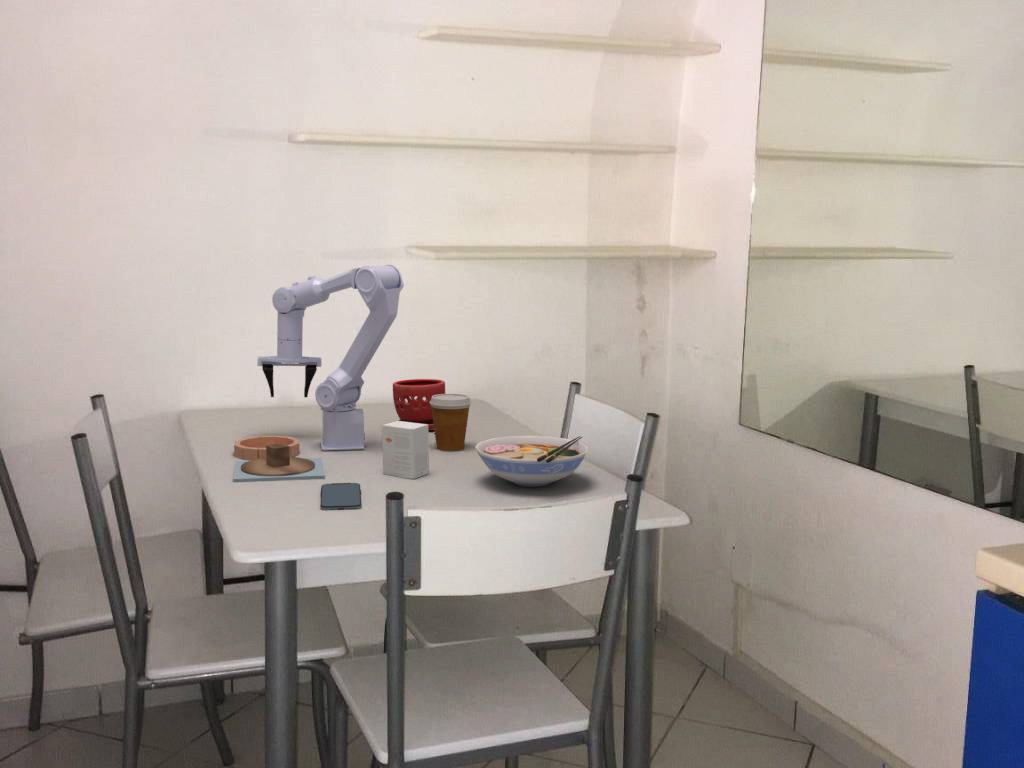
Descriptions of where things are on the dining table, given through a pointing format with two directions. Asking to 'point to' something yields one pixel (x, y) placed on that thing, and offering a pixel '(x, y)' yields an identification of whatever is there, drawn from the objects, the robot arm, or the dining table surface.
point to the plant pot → (417, 407)
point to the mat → (313, 474)
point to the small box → (405, 449)
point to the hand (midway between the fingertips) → (289, 396)
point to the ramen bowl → (532, 458)
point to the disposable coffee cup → (450, 420)
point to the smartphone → (340, 496)
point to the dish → (263, 446)
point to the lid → (277, 463)
